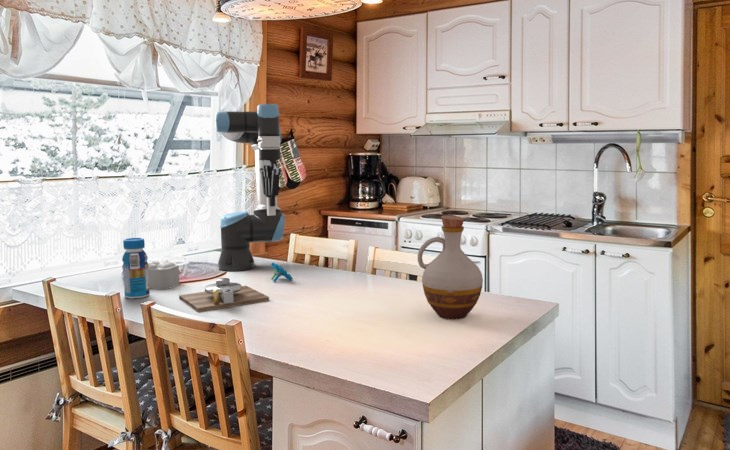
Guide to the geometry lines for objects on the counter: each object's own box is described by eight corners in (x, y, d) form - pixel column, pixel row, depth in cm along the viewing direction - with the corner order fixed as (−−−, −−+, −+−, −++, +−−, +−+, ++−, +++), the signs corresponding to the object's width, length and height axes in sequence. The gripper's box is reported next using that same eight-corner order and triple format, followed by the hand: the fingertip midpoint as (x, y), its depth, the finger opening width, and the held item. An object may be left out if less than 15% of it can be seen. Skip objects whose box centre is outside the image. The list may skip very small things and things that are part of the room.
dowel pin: (213, 303, 193) (212, 290, 192) (217, 302, 194) (217, 289, 193) (214, 304, 191) (214, 291, 191) (219, 304, 192) (219, 290, 192)
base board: (179, 298, 204) (178, 289, 204) (246, 288, 217) (245, 280, 217) (197, 311, 188) (197, 302, 187) (269, 300, 201) (268, 291, 200)
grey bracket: (203, 291, 206) (202, 277, 205) (238, 288, 210) (238, 274, 209) (209, 305, 188) (208, 289, 188) (247, 301, 192) (247, 286, 192)
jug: (409, 320, 176) (408, 218, 172) (425, 305, 193) (425, 212, 188) (476, 327, 169) (477, 221, 165) (487, 310, 186) (488, 213, 182)
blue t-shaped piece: (297, 278, 226) (277, 261, 223) (287, 290, 224) (267, 273, 221) (288, 276, 236) (269, 260, 233) (278, 288, 234) (259, 272, 231)
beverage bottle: (118, 298, 206) (114, 240, 203) (136, 292, 214) (132, 236, 211) (138, 300, 203) (134, 241, 200) (155, 294, 211) (152, 237, 208)
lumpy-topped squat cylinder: (166, 289, 218) (164, 265, 217) (136, 287, 222) (134, 264, 221) (183, 283, 228) (181, 260, 227) (153, 281, 232) (152, 258, 231)
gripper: (252, 148, 216) (254, 214, 219) (267, 148, 205) (269, 217, 208) (271, 148, 220) (273, 212, 223) (287, 148, 209) (289, 216, 212)
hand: (271, 215), depth 215 cm, fingers closed
